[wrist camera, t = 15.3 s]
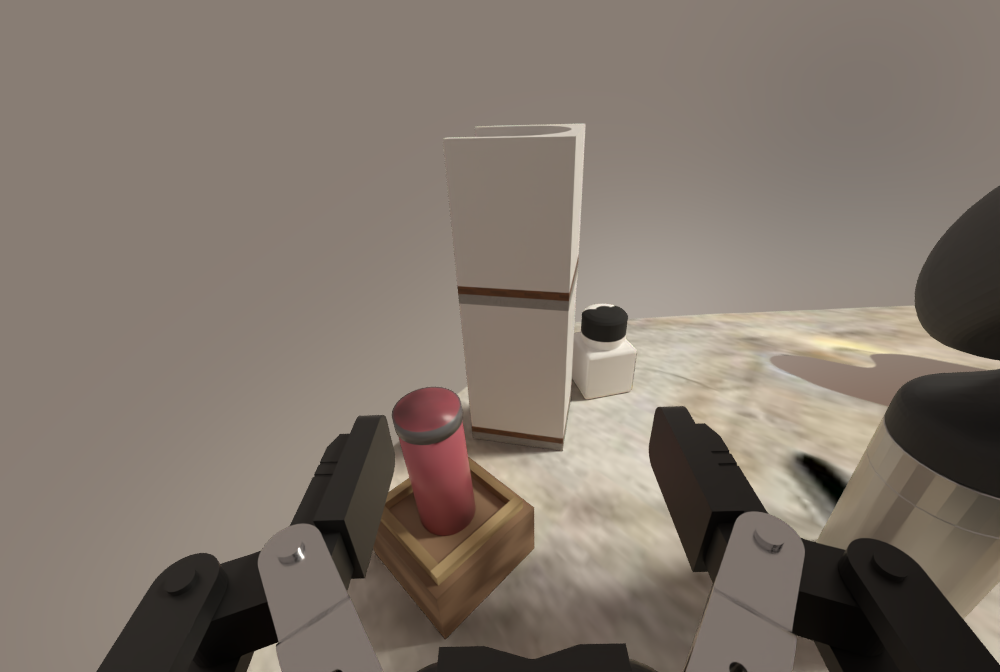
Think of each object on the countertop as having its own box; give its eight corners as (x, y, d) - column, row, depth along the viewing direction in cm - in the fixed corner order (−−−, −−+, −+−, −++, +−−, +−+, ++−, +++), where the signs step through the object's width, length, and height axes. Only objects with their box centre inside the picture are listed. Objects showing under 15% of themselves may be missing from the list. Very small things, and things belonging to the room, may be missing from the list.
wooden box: (460, 485, 49) (454, 439, 45) (534, 548, 42) (533, 500, 38) (374, 552, 42) (359, 505, 39) (445, 639, 35) (435, 591, 32)
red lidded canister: (450, 477, 42) (431, 378, 36) (488, 507, 39) (475, 404, 32) (407, 513, 39) (378, 411, 33) (444, 548, 36) (420, 443, 29)
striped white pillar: (571, 396, 61) (585, 123, 43) (562, 451, 53) (576, 136, 35) (493, 387, 64) (477, 126, 46) (472, 438, 55) (442, 138, 37)
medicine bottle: (632, 392, 62) (642, 318, 56) (585, 401, 60) (590, 326, 54) (610, 364, 68) (617, 295, 62) (567, 372, 66) (570, 302, 60)
